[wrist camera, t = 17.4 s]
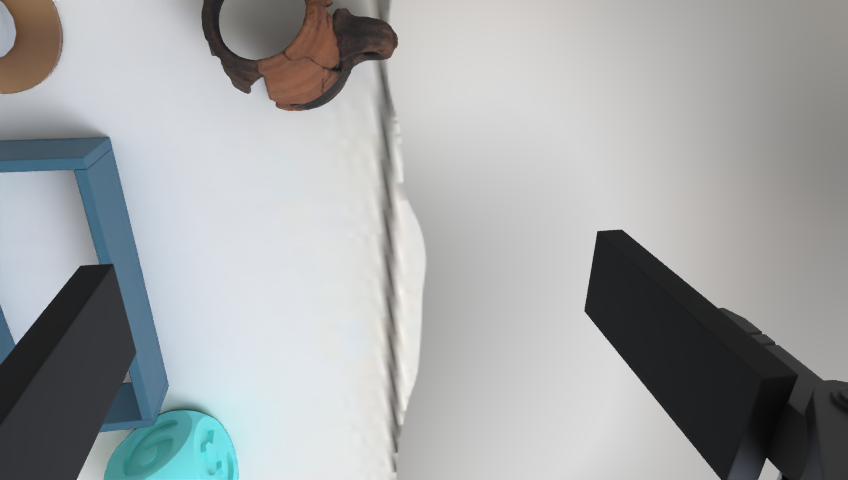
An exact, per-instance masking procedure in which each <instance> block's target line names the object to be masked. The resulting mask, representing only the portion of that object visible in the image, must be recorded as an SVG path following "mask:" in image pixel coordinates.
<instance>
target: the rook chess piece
mask: <svg viewBox="0 0 848 480" xmlns="http://www.w3.org/2000/svg"><path fill="white" fill-rule="evenodd" d="M15 37H16V29H15V24H14V20H13V17H12V16H11V14H10V13H9V11H8V9H7V8H6V6H5V5H4V3H2V2H1V1H0V57H2V56H5V55H6V54H7V53H8V51H9V50H10V49H11V48H12V47H13V46H14V41H15Z"/></svg>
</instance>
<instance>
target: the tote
mask: <svg viewBox="0 0 848 480" xmlns="http://www.w3.org/2000/svg"><path fill="white" fill-rule="evenodd" d="M51 170H74V172H75V176H76V180H77V183H78V187H79V190H80V194H81V198H82V201H83V205H84V209H85V212H86V216H87V220H88V223H89V227H90V231H91V234H92V238H93V242H94V245H95V249H96V253H97V256H98V260H99V264H114V268H115V271H116V275H117V279H118V283H119V287H120V291H121V294H122V298H123V302H124V306H125V310H126V313H127V317H128V321H129V325H130V329H131V333H132V336H133V340H134V344H135V348H136V352H137V353H136V355H135V357H134V359H133V361H132V363H131V366H130V368H129V373H130V377H131V380H132V383H124V384H122V385H121V387H120V389H119V391H118V393H117V395H116V397H115V399H114V401H113V404H112V406H111V408H110V410H109V412H108V414H107V416H106V418H105V421H104V423H103V425H102V427H101V429H100V431H99V432H107V431H115V430H124V429H133V428H142V427H151V426H154V425H155V423H156V420H157V417H158V414H159V411H160V409H161V406H162V403H163V400H164V397H165V395H166V392H167V389H168V386H169V385H168V381H167V376H166V372H165V368H164V363H163V359H162V355H161V351H160V347H159V342H158V338H157V334H156V330H155V326H154V321H153V317H152V313H151V309H150V305H149V300H148V296H147V292H146V288H145V284H144V279H143V275H142V271H141V267H140V263H139V258H138V254H137V250H136V246H135V241H134V237H133V233H132V229H131V225H130V220H129V216H128V212H127V208H126V204H125V199H124V195H123V191H122V187H121V183H120V178H119V174H118V170H117V166H116V162H115V157H114V153H113V149H112V145H111V141H110V138H109V137H103V138H71V139H39V140H7V141H0V173H1V172H26V171H51ZM14 347H15V344H14V341H13V339H12V336H11V334H10V331H9V328H8V326H7V323H6V320H5V318H4V315H3V312H2V310H1V307H0V364H1V363H2V362H3V361H4V359H5V358H6V357H7V356H8V355H9V353H10V352H11V351H12V350H13V348H14Z"/></svg>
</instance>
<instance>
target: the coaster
mask: <svg viewBox="0 0 848 480" xmlns="http://www.w3.org/2000/svg"><path fill="white" fill-rule="evenodd" d="M0 1H1V2H2V3H4V5H5V6H6V8H7V9H8V11H9V13H10V14H11V16H12V17H13V20H14V24H15V29H16V37H15V41H14V46H13V47H12V48H11V49H10V50H9V51H8V53H7V54H6V55H5V56H2V57H0V94H10V93H17V92H21V91H24V90H27V89H30V88H32V87H34V86H36V85H38V84H40V83H41V82H42V81H43V80H45V79H46V78H47V77H48V76H49V75H50V74H51V73H52V71H53V70H54V68H55V67H56V65H57V63H58V61H59V58H60V55H61V51H62V43H63V36H62V27H61V22H60V18H59V15H58V12H57V10H56V8H55V5H54V3H53V1H52V0H0Z"/></svg>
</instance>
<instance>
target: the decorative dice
mask: <svg viewBox="0 0 848 480" xmlns="http://www.w3.org/2000/svg"><path fill="white" fill-rule="evenodd" d="M238 478H239V473H238V463H237V458H236V454H235V450H234V447H233V444H232V442H231V439H230V437H229V435H228V433H227V432H226V430H225V429H224V427H223V426H222V425H221V424H220V423H219V422H218V421H217V420H216V419H214V418H212V417H210V416H208V415H206V414H203V413H200V412H195V411H187V410H181V411H170V412H167V413H163V414H161V415H158V417H157V420H156V423H155V425H154V426H151V427H142V428H137V429H136V430H134V431H133V432H132V433H131V434H130V435H129V436H128V437H127V438H126V439H125V440H124V441H123V442H122V443H121V444H120V445H119V446H118V448H117V449H116V450H115V452H114V453H113V455H112V456H111V458H110V460H109V462H108V465H107V467H106V471H105V475H104V480H238Z"/></svg>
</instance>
